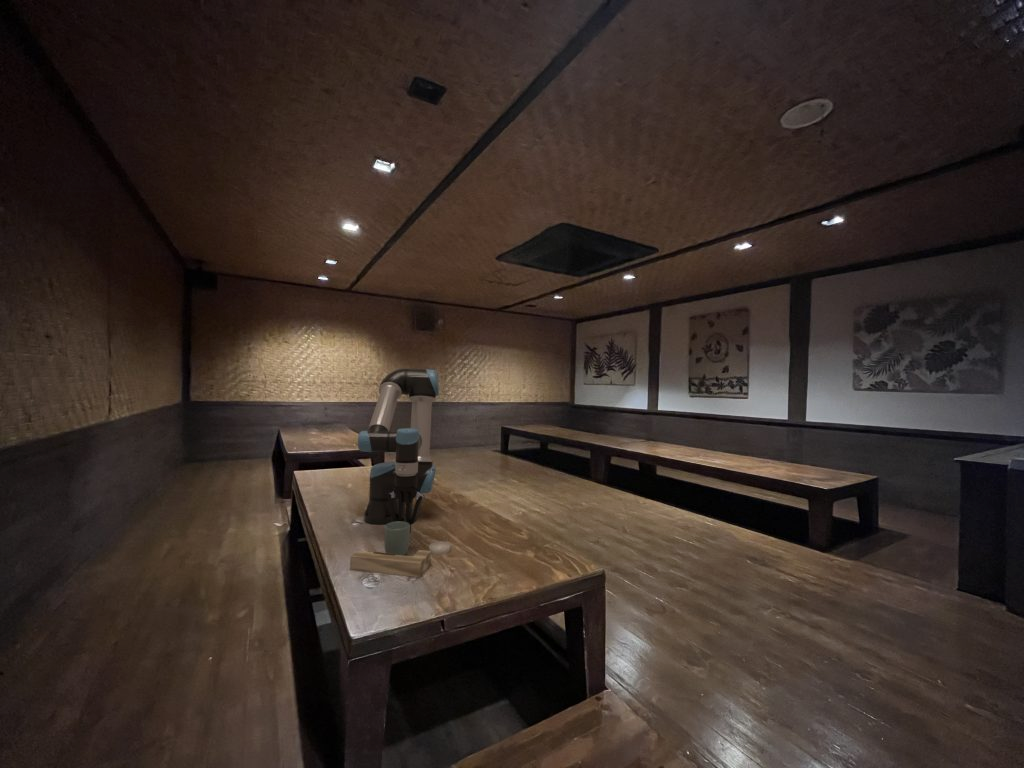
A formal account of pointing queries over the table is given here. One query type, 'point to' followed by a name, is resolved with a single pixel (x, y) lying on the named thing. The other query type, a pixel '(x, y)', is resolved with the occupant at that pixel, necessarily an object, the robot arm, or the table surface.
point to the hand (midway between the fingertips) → (404, 543)
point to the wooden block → (391, 563)
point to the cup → (397, 537)
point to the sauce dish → (439, 547)
